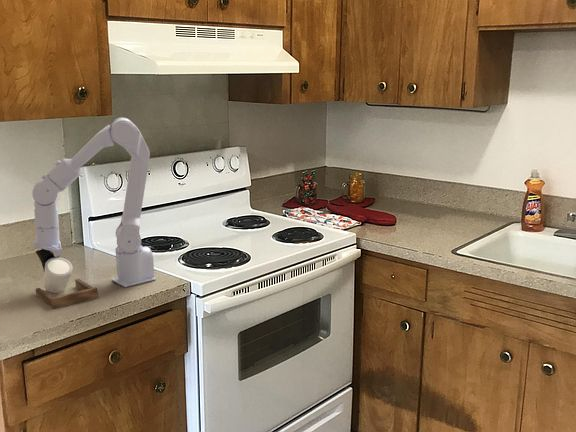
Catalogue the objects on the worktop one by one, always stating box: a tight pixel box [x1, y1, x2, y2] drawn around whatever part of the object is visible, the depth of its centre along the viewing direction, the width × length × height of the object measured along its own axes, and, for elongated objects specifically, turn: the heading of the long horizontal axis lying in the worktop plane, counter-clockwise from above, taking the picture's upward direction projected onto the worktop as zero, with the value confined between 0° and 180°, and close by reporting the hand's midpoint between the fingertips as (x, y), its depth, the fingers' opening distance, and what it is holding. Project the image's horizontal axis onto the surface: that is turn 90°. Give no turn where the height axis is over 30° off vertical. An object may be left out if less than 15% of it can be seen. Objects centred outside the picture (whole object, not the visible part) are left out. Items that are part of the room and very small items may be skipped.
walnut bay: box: [35, 278, 99, 310], centre depth 160 cm, size 12×12×2 cm
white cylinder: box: [43, 256, 74, 294], centre depth 163 cm, size 7×7×7 cm
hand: (50, 276), depth 166 cm, fingers closed, pressing on white cylinder
